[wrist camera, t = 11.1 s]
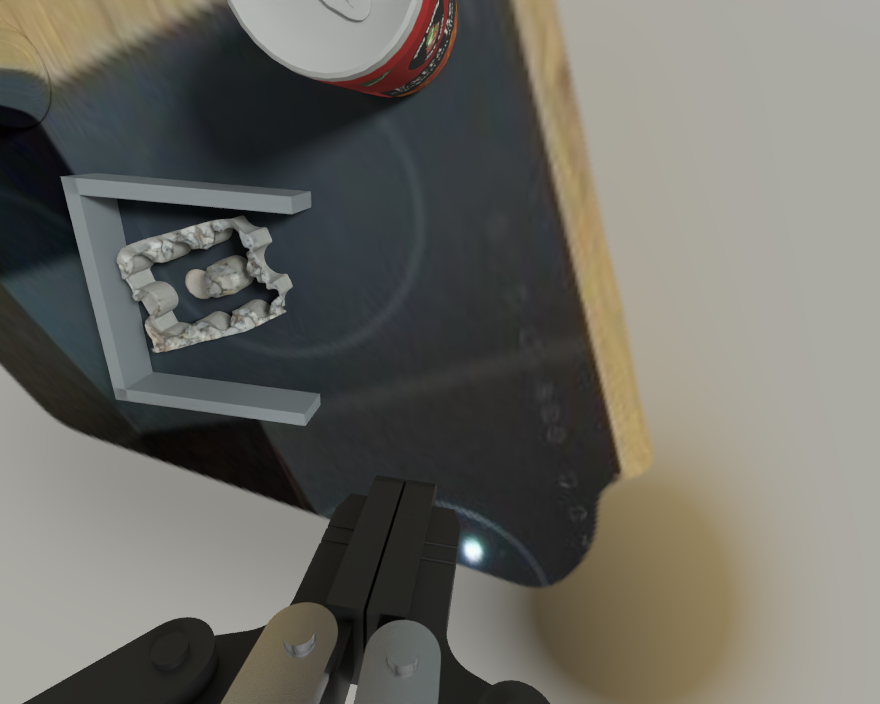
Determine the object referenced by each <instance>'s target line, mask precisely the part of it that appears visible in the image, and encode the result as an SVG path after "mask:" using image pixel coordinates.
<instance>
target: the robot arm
mask: <svg viewBox="0 0 880 704" xmlns="http://www.w3.org/2000/svg"><path fill="white" fill-rule="evenodd" d="M436 489H437V485H436V484H431V483H425V482H418V481H411V480H407V482H406V480H404V479H397V478H391V477H384V476H378V475H377V476H376V477H375V479H374V481H373V484H372V487H371V489H370V492H369V494H368V496H365V495H358V494H351V495H350V496H349V497H347V498H346V499H345V500H344V501H343V502H342V503H341V504H340V505H339V506H337V507H336V510H335V512H334V514H333V516H332V518H331V520H330V522H329V525H328V529H326V531H325V533H324V535H323V537H322V541H321V543H320V544H319V546H318V548H317V550H316V553H315V555H314V557H313V559H312V561H311V563H310V565H309V567H308V570H307V572H306V574H305V576H304V578H303V581H302V583H301V585H300V587H299V589H298V591H297V593H296V595H295V597H294V599H293V601H292V603H291V604H290V606H288V607H286V608H284V609H283V610H281V611H280V612H278V613H277V614H276V615H275V616H274V617H273V618H272V619H271V620H270V621H269V622H268V624H267V625H265V626H263V627H260V628H257V629H254V630H250V631H244V632H237V633H230V634H223V635H216V636H214V634H213V631H212V629H211V628H210V626H209V625H208V624H207V623H206V622H204V621H202V620H200V619H196V618H189V617H186V618H178V619H174V620H171V621H168V622H166V623H164V624H162V625H160V626H158V627H156V628H154V629H152V630H151V631H149V632H147V633H145V634H144V635H142V636H140V637H139V638H137V639H135V640H133V641H131V642H130V643H128V644H126V645H125V646H123V647H121V648H119V649H117V650H116V651H114V652H112V653H110V654H109V655H107V656H105V657H103V658H102V659H100V660H98V661H96V662H95V663H93V664H91V665H90V666H88V667H86V668H84V669H82V670H81V671H79V672H77V673H75V674H74V675H72V676H70V677H68V678H67V679H65V680H63V681H62V682H60V683H58V684H56V685H54V686H53V687H51V688H49V689H47V690H46V691H44V692H42V693H40V694H39V695H37V696H35V697H33V698H32V699H30V700H28V701H26V702H24V703H23V704H345V700H346V697H347V694H348V690H349V687H350V684H356V685H358V686H357V691H356V696H355V700H354V704H550V703H549V702H548V700H547V699H546V698H545V697H544V696H543V695H542V694H541V693H540V692H539V691H537V690H536V689H535V688H533V687H532V686H529V685H528V684H525V683H523V682H520V681H513V680H510V681H502V682H498V683H496V684H494V685H491V684H489V683H487V682H486V681H484V680H482V679H481V678H479V677H477V676H475V675H474V674H472V673H471V672H469V671H468V670H466V669H465V668H464V667H463V666H462V665H461V664H460V663H459V662H458V661H457V660H456V659H455V657H454V655H453V654H452V652H451V650H450V647H449V645H448V641H447V627H448V620H449V613H450V606H451V599H452V591H453V584H454V577H455V569H456V561H457V552H458V544H459V535H460V524H459V522H458V519H457V516H456V513H455V510H454V509H448V508H442V507H436V506H435V501H436Z"/></svg>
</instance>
